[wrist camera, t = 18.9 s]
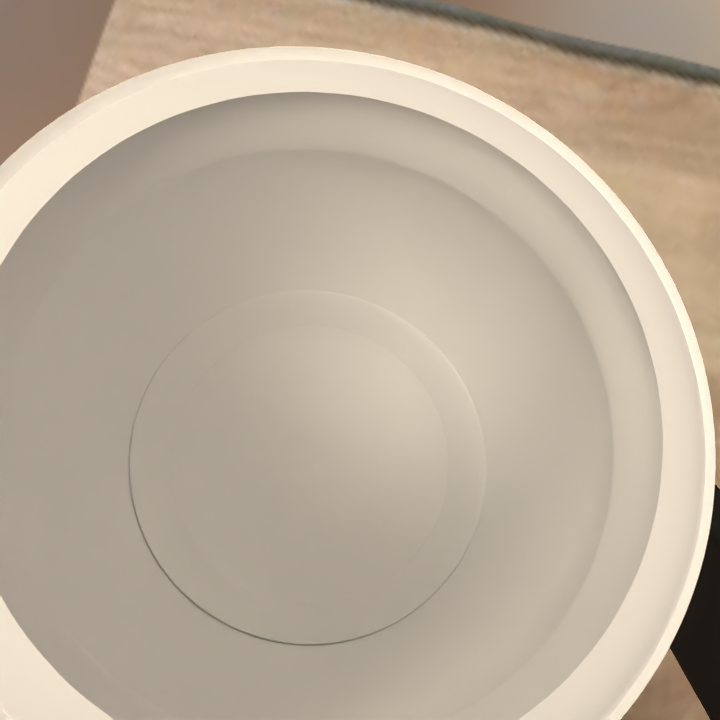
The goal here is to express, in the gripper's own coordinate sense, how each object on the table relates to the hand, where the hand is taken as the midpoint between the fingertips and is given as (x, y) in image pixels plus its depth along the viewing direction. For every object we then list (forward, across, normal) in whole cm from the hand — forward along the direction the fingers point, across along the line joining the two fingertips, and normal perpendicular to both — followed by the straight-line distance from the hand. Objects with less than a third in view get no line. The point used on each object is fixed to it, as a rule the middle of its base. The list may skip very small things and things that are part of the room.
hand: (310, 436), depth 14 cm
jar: (+6, 0, -6) cm, 9 cm away
